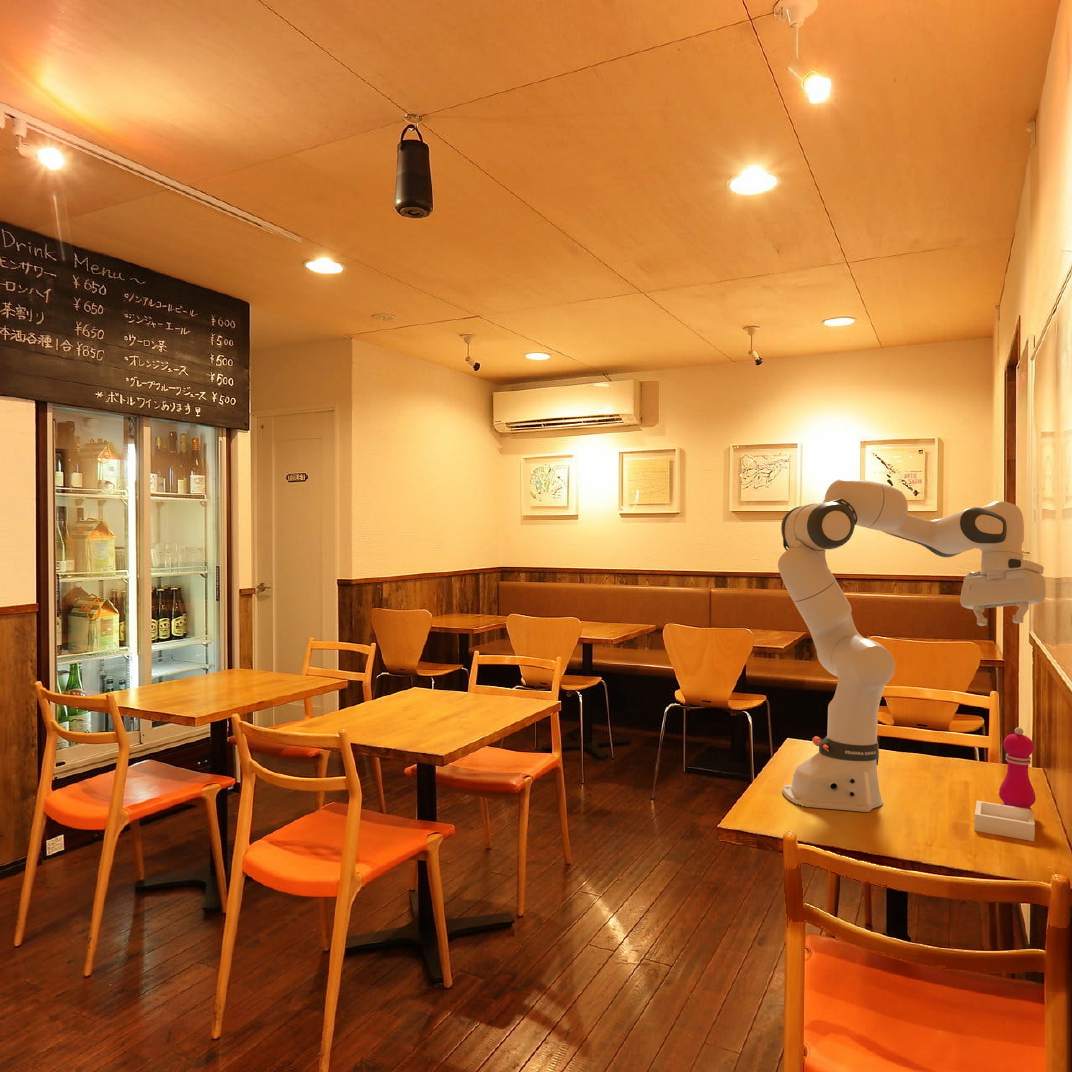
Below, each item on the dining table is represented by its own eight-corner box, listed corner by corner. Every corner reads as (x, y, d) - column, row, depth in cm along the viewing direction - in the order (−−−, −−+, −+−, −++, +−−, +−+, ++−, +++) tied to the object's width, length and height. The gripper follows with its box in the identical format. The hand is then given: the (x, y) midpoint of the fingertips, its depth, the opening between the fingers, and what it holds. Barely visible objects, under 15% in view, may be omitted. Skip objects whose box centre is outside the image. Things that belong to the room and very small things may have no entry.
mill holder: (974, 830, 175) (974, 814, 175) (976, 815, 185) (976, 800, 185) (1034, 841, 170) (1034, 824, 170) (1032, 825, 179) (1033, 809, 179)
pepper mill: (1040, 821, 182) (1043, 732, 182) (1005, 818, 184) (1007, 730, 184) (1027, 811, 189) (1030, 725, 189) (993, 808, 191) (996, 722, 191)
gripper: (955, 570, 206) (952, 623, 203) (1031, 559, 187) (1029, 618, 184) (973, 576, 208) (970, 629, 205) (1050, 566, 190) (1049, 624, 186)
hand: (999, 624), depth 194 cm, fingers open, 8 cm apart
